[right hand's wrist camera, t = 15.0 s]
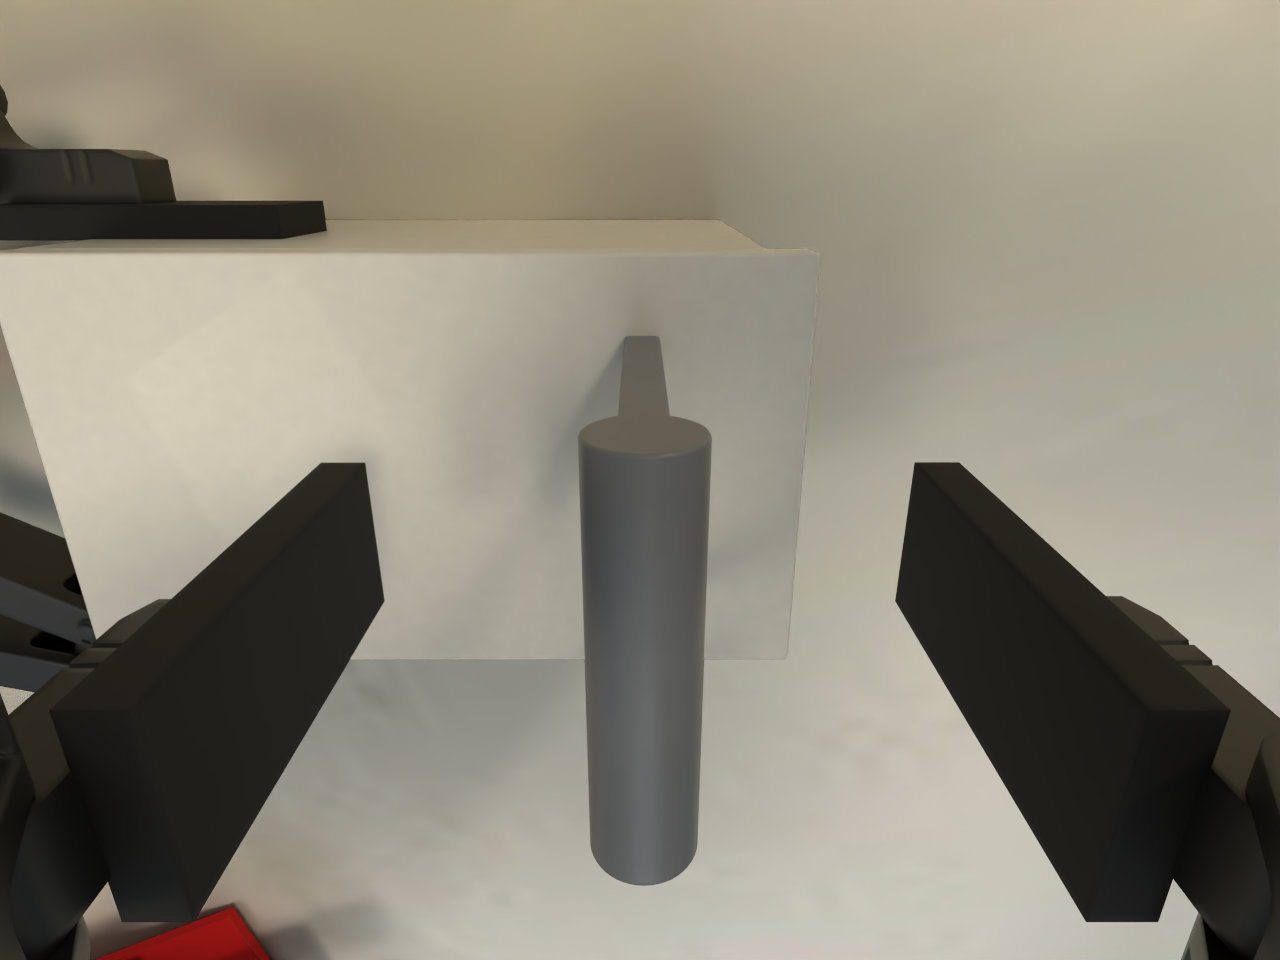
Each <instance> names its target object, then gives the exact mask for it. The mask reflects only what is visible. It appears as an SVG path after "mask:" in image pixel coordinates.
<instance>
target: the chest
mask: <svg viewBox="0 0 1280 960" xmlns="http://www.w3.org/2000/svg"><path fill="white" fill-rule="evenodd" d="M326 227H327V231H323V232H318V233H313V234H307V235H302V236H297V237H291V238H286V239H89V240H81V241H73V242H65V243H56V244H48V245H40V246H32V247H24V248H18V249H766V248H764V247H762V246H761V245H759V244H757V243H756V242H754V241H752V240H751V239H749V238H747V237H746V236H744V235H742V234H741V233H739V232H737V231H736V230H734V229H732V228H731V227H729V226H727V225H726V224H724V223H722V222H721V221H720V220H326Z"/></svg>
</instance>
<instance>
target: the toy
mask: <svg viewBox="0 0 1280 960" xmlns="http://www.w3.org/2000/svg"><path fill="white" fill-rule="evenodd" d="M95 960H271V959H270V958H269V957H268V955H267V954H266V952H265V951H264V950H263V948H262V947H261V945H260V944H259V943H258V941H257V940H256V938H255V937H254V936H253V934H252V933H251V931H250V930H249V929H248V927H247V926H246V924H245V923H244V922H243V920H242V919H241V917H240V916H239V915H238V913H237V912H236V910H235V909H234V908H233V907H231V908H228V909H225V910H223V911H220V912H218V913H215V914H212V915H210V916H207V917H205V918H202V919H199V920H197V921H194V922H192V923H189V924H186V925H184V926H181V927H179V928H176V929H173V930H171V931H168V932H166V933H163V934H160V935H158V936H155V937H153V938H150V939H147V940H145V941H142V942H140V943H137V944H134V945H132V946H129V947H127V948H124V949H121V950H119V951H116V952H114V953H111V954H108V955H106V956H103V957H101V958H98V959H95Z"/></svg>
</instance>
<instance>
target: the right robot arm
mask: <svg viewBox="0 0 1280 960" xmlns="http://www.w3.org/2000/svg"><path fill="white" fill-rule="evenodd" d="M384 601H385V600H384V593H383V586H382V579H381V571H380V564H379V557H378V550H377V543H376V536H375V529H374V522H373V514H372V507H371V500H370V493H369V486H368V479H367V472H366V465H365V463H320V464H319V465H318V466H317V467H316V468H314V469H313V470H312V471H311V472H310V473H309V474H308V475H307V476H306V477H305V478H304V479H302V480H301V481H300V482H299V483H298V484H297V485H296V486H295V487H294V488H293V489H291V490H290V491H289V492H288V493H287V494H286V495H285V496H284V497H283V498H282V499H280V500H279V501H278V502H277V503H276V504H275V505H274V506H273V507H272V508H271V509H269V510H268V511H267V512H266V513H265V514H264V515H263V516H262V517H261V518H260V519H258V520H257V521H256V522H255V523H254V524H253V525H252V526H251V527H250V528H249V529H248V530H246V531H245V532H244V533H243V534H242V535H241V536H240V537H239V538H238V539H237V540H235V541H234V542H233V543H232V544H231V545H230V546H229V547H228V548H227V549H226V550H224V551H223V552H222V553H221V554H220V555H219V556H218V557H217V558H216V559H215V560H213V561H212V562H211V563H210V564H209V565H208V566H207V567H206V568H205V569H204V570H202V571H201V572H200V573H199V574H198V575H197V576H196V577H195V578H194V579H193V580H192V581H190V582H189V583H188V584H187V585H186V586H185V587H184V588H183V589H182V590H181V591H179V592H178V593H177V594H176V595H175V596H174V597H173V598H172V599H158V600H156V601H154V602H152V603H150V604H148V605H146V606H144V607H143V608H141V609H139V610H137V611H135V612H133V613H131V614H129V615H127V616H125V617H123V618H122V619H120V620H119V621H117V622H116V623H115V624H114V625H113V626H112V627H110V628H109V629H108V630H107V631H106V632H105V633H104V634H102V635H101V636H100V637H99V638H98V639H97V640H95V641H94V642H93V643H92V648H86V649H85V650H84V651H83V652H81V653H80V654H79V655H78V656H77V657H76V658H74V659H73V660H72V661H71V662H70V663H69V668H63V669H62V670H60V671H59V672H58V673H57V674H56V675H55V676H54V677H52V678H51V679H50V680H49V681H48V682H47V683H45V684H44V685H43V686H42V687H41V688H40V689H38V690H37V691H36V692H35V693H34V694H33V695H31V696H30V697H29V698H28V699H27V700H26V701H24V702H23V703H22V704H21V705H20V706H19V707H17V708H16V709H15V710H14V711H13V712H12V713H11V714H9V715H8V713H7V710H6V708H5V705H4V702H3V699H2V697H1V694H0V960H89V958H90V950H91V944H90V939H89V933H88V929H87V926H86V923H85V921H84V918H83V914H84V913H85V911H86V910H87V909H88V907H89V906H90V905H91V903H92V902H93V901H94V899H95V898H96V897H97V895H98V894H99V893H100V891H101V890H102V889H103V887H104V886H105V885H106V883H107V882H108V883H109V886H110V889H111V892H112V894H113V897H114V900H115V903H116V906H117V909H118V912H119V915H120V918H121V920H122V922H194V921H195V919H196V917H197V916H198V914H199V912H200V911H201V909H202V907H203V906H204V904H205V902H206V901H207V899H208V897H209V895H210V894H211V892H212V890H213V889H214V887H215V885H216V884H217V882H218V880H219V879H220V877H221V875H222V874H223V872H224V870H225V869H226V867H227V865H228V864H229V862H230V860H231V859H232V857H233V855H234V853H235V852H236V850H237V848H238V847H239V845H240V843H241V842H242V840H243V838H244V837H245V835H246V833H247V832H248V830H249V828H250V827H251V825H252V823H253V822H254V820H255V818H256V817H257V815H258V813H259V811H260V810H261V808H262V806H263V805H264V803H265V801H266V800H267V798H268V796H269V795H270V793H271V791H272V790H273V788H274V786H275V785H276V783H277V781H278V780H279V778H280V776H281V774H282V773H283V771H284V769H285V768H286V766H287V764H288V763H289V761H290V759H291V758H292V756H293V754H294V753H295V751H296V749H297V748H298V746H299V744H300V743H301V741H302V739H303V738H304V736H305V734H306V732H307V731H308V729H309V727H310V726H311V724H312V722H313V721H314V719H315V717H316V716H317V714H318V712H319V711H320V709H321V707H322V706H323V704H324V702H325V701H326V699H327V697H328V696H329V694H330V692H331V690H332V689H333V687H334V685H335V684H336V682H337V680H338V679H339V677H340V675H341V674H342V672H343V670H344V669H345V667H346V665H347V664H348V662H349V660H350V659H351V657H352V655H353V654H354V652H355V650H356V648H357V647H358V645H359V643H360V642H361V640H362V638H363V637H364V635H365V633H366V632H367V630H368V628H369V627H370V625H371V623H372V622H373V620H374V618H375V617H376V615H377V613H378V611H379V610H380V608H381V606H382V605H383V603H384ZM895 601H896V603H897V605H898V606H899V608H900V610H901V611H902V613H903V615H904V617H905V618H906V620H907V622H908V623H909V625H910V627H911V628H912V630H913V632H914V633H915V635H916V637H917V638H918V640H919V642H920V643H921V645H922V647H923V648H924V650H925V652H926V653H927V655H928V657H929V659H930V660H931V662H932V664H933V665H934V667H935V669H936V670H937V672H938V674H939V675H940V677H941V679H942V680H943V682H944V684H945V685H946V687H947V689H948V690H949V692H950V694H951V695H952V697H953V699H954V701H955V702H956V704H957V706H958V707H959V709H960V711H961V712H962V714H963V716H964V717H965V719H966V721H967V722H968V724H969V726H970V727H971V729H972V731H973V732H974V734H975V736H976V738H977V739H978V741H979V743H980V744H981V746H982V748H983V749H984V751H985V753H986V754H987V756H988V758H989V759H990V761H991V763H992V764H993V766H994V768H995V769H996V771H997V773H998V774H999V776H1000V778H1001V780H1002V781H1003V783H1004V785H1005V786H1006V788H1007V790H1008V791H1009V793H1010V795H1011V796H1012V798H1013V800H1014V801H1015V803H1016V805H1017V806H1018V808H1019V810H1020V811H1021V813H1022V815H1023V816H1024V818H1025V820H1026V822H1027V823H1028V825H1029V827H1030V828H1031V830H1032V832H1033V833H1034V835H1035V837H1036V838H1037V840H1038V842H1039V843H1040V845H1041V847H1042V848H1043V850H1044V852H1045V853H1046V855H1047V857H1048V858H1049V860H1050V862H1051V864H1052V865H1053V867H1054V869H1055V870H1056V872H1057V874H1058V875H1059V877H1060V879H1061V880H1062V882H1063V884H1064V885H1065V887H1066V889H1067V890H1068V892H1069V894H1070V895H1071V897H1072V899H1073V901H1074V902H1075V904H1076V906H1077V907H1078V909H1079V911H1080V912H1081V914H1082V916H1083V917H1084V919H1085V921H1086V922H1158V921H1159V918H1160V915H1161V912H1162V909H1163V906H1164V903H1165V900H1166V897H1167V895H1168V892H1169V889H1170V886H1171V883H1172V880H1173V879H1174V880H1175V882H1176V883H1177V884H1178V886H1179V887H1180V888H1181V889H1182V891H1183V892H1184V893H1185V895H1186V896H1187V897H1188V899H1189V900H1190V901H1191V903H1192V904H1193V905H1194V907H1195V908H1196V909H1197V911H1198V912H1199V913H1198V915H1197V918H1196V921H1195V923H1194V926H1193V929H1192V931H1191V934H1190V937H1189V940H1188V942H1187V945H1186V948H1185V950H1184V953H1183V956H1182V958H1181V960H1280V718H1279V717H1278V716H1277V715H1276V714H1274V713H1273V712H1272V711H1271V710H1270V709H1268V708H1267V707H1266V706H1265V705H1264V704H1263V703H1261V702H1260V701H1259V700H1258V699H1257V698H1256V697H1254V696H1253V695H1252V694H1251V693H1250V692H1249V691H1247V690H1246V689H1245V688H1244V687H1243V686H1242V685H1240V684H1239V683H1238V682H1237V681H1236V680H1235V679H1233V678H1232V677H1231V676H1230V675H1229V674H1227V673H1226V672H1225V671H1224V670H1223V669H1222V668H1220V667H1219V666H1218V665H1212V660H1211V659H1210V658H1209V657H1208V656H1206V655H1205V654H1204V653H1203V652H1202V651H1201V650H1199V649H1198V648H1197V647H1196V646H1195V645H1189V643H1188V642H1189V640H1188V639H1186V638H1185V637H1184V636H1183V635H1182V634H1181V633H1179V632H1178V631H1177V630H1176V629H1175V628H1174V627H1172V626H1171V625H1170V624H1169V623H1168V622H1167V621H1165V620H1164V619H1163V618H1162V617H1161V616H1159V615H1157V614H1155V613H1153V612H1151V611H1149V610H1147V609H1145V608H1143V607H1141V606H1140V605H1138V604H1136V603H1134V602H1132V601H1130V600H1128V599H1126V598H1124V597H1122V596H1105V595H1104V594H1103V593H1102V592H1101V591H1099V590H1098V589H1097V588H1096V587H1095V586H1094V585H1093V584H1092V583H1091V582H1090V581H1089V580H1087V579H1086V578H1085V577H1084V576H1083V575H1082V574H1081V573H1080V572H1079V571H1078V570H1076V569H1075V568H1074V567H1073V566H1072V565H1071V564H1070V563H1069V562H1068V561H1067V560H1065V559H1064V558H1063V557H1062V556H1061V555H1060V554H1059V553H1058V552H1057V551H1056V550H1054V549H1053V548H1052V547H1051V546H1050V545H1049V544H1048V543H1047V542H1046V541H1045V540H1043V539H1042V538H1041V537H1040V536H1039V535H1038V534H1037V533H1036V532H1035V531H1034V530H1033V529H1031V528H1030V527H1029V526H1028V525H1027V524H1026V523H1025V522H1024V521H1023V520H1022V519H1020V518H1019V517H1018V516H1017V515H1016V514H1015V513H1014V512H1013V511H1012V510H1011V509H1009V508H1008V507H1007V506H1006V505H1005V504H1004V503H1003V502H1002V501H1001V500H1000V499H998V498H997V497H996V496H995V495H994V494H993V493H992V492H991V491H990V490H989V489H987V488H986V487H985V486H984V485H983V484H982V483H981V482H980V481H979V480H978V479H977V478H975V477H974V476H973V475H972V474H971V473H970V472H969V471H968V470H967V469H966V468H964V467H963V466H962V465H961V464H960V463H915V465H914V472H913V479H912V486H911V493H910V500H909V507H908V515H907V522H906V529H905V536H904V543H903V550H902V557H901V564H900V571H899V579H898V586H897V593H896V600H895Z"/></svg>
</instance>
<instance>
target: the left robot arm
mask: <svg viewBox="0 0 1280 960" xmlns="http://www.w3.org/2000/svg"><path fill="white" fill-rule="evenodd" d="M7 107H8V101H7V98H6V95H5V92H4V90H3V89H2V87H1V86H0V240H89V239H286V238H291V237H297V236H302V235H307V234H313V233H318V232H323V231H327V227H326V220H325V213H324V206H323V201H176V198H175V193H174V188H173V184H172V179H171V174H170V169H169V164H168V160H167V159H164V158H162V157H159V156H157V155H154V154H152V153H149V152H147V151H137V150H114V149H37V148H34V147H32V146H30V145H29V144H27V143H25V142H24V141H23V140H22V139H21V138H20V137H19V136H18V135H17V134H16V133H15V132H14V130H13V129H12V128H11V126H10V124H9V123H8V121H7V119H6V118H5V115H6V114H7ZM95 640H96V637H95V634H94V630H93V627H92V624H91V621H90V617H89V614H88V611H87V608H86V604H85V601H84V598H83V594H82V591H81V588H80V585H79V581H78V578H77V575H76V572H75V568H74V565H73V562H72V558H71V555H70V552H69V549H68V545H67V542H66V539H65V538H62V537H60V536H57V535H55V534H52V533H50V532H47V531H45V530H43V529H40V528H38V527H35V526H33V525H30V524H28V523H25V522H23V521H20V520H18V519H15V518H13V517H10V516H8V515H5V514H3V513H0V686H4V687H9V688H14V689H20V690H25V691H31V692H36V691H37V690H38V689H40V688H41V687H42V686H43V685H44V684H45V683H47V682H48V681H49V680H50V679H51V678H52V677H54V676H55V675H56V674H57V673H58V672H59V671H60V670H62V669H63V668H69V663H70V662H71V661H72V660H73V659H74V658H76V657H77V656H78V655H79V654H80V653H81V652H83V651H84V650H85V649H86V648H92V643H93V642H94V641H95Z"/></svg>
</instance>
